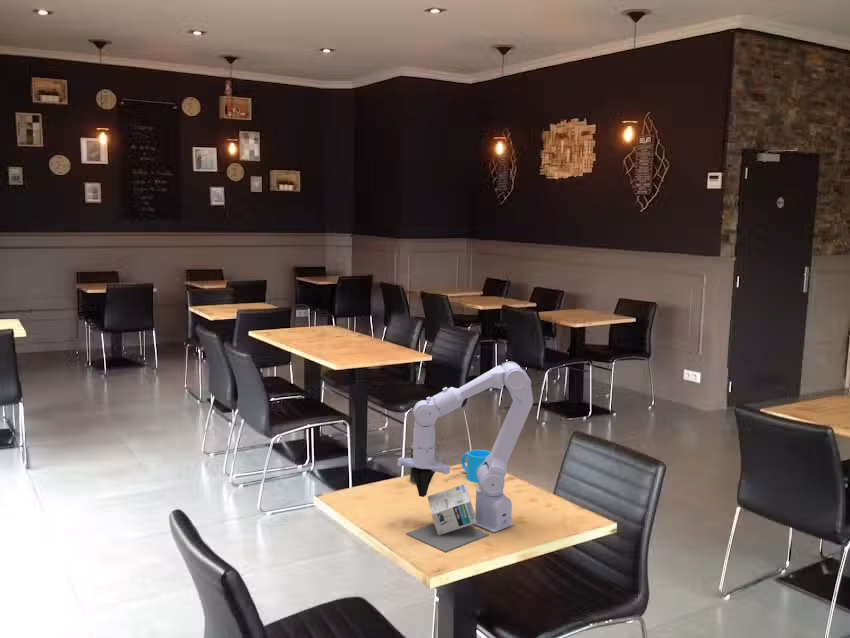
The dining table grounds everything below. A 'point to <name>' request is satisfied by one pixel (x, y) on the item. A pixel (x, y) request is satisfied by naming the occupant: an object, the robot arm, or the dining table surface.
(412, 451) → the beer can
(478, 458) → the mug
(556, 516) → the dining table surface
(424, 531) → the charcoal rubber mat
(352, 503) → the dining table surface
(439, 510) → the light bulb box
